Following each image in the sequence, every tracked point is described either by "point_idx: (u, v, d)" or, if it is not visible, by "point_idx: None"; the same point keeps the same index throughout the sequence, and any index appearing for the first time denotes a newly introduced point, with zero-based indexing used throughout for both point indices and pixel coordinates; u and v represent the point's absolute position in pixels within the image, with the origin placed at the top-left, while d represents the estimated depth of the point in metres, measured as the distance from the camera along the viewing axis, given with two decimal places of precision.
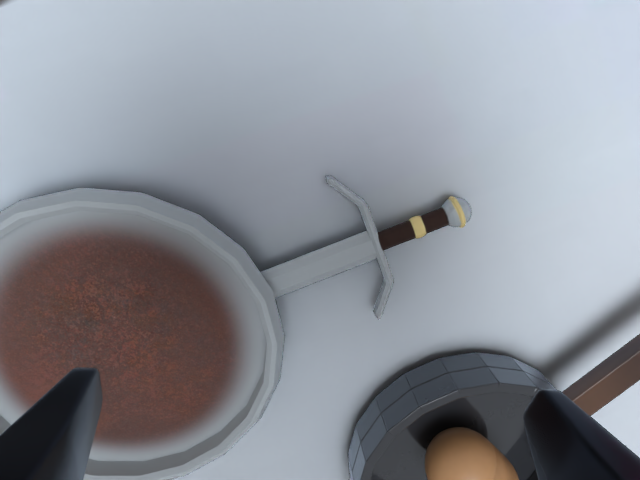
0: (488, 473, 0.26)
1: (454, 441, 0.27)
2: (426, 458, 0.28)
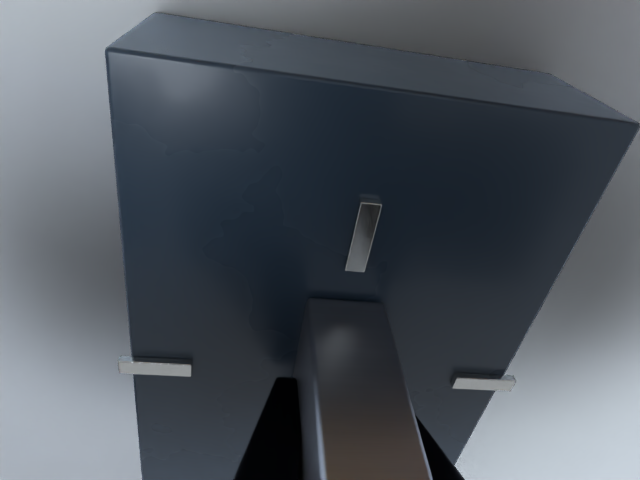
0: None
1: None
2: None
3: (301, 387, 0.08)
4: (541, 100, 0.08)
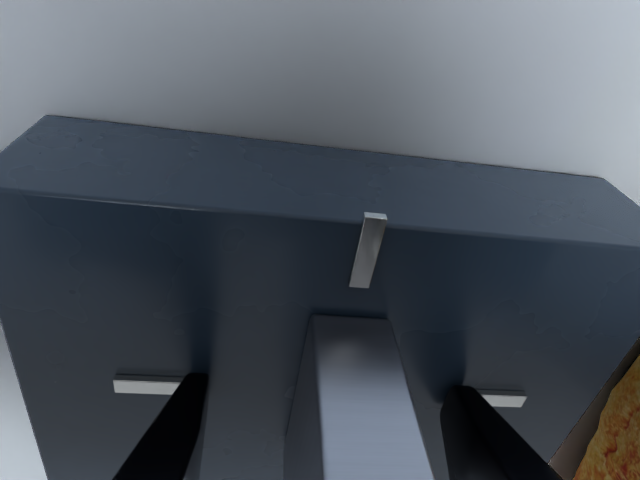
0: None
1: None
2: None
3: (304, 408, 0.08)
4: None
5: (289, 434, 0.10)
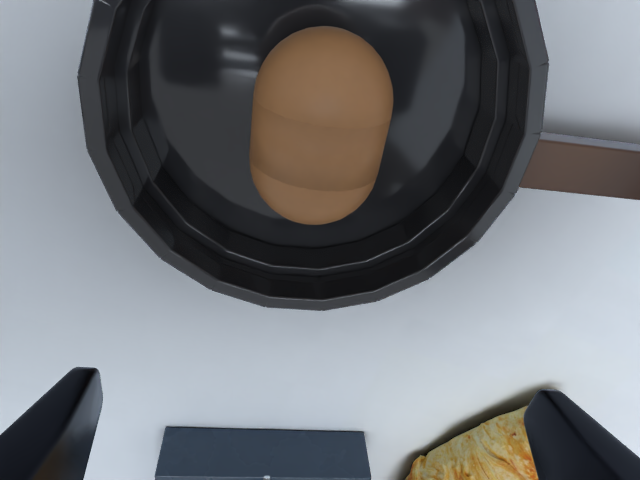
0: (374, 111, 0.13)
1: (361, 38, 0.14)
2: None
3: None
4: None
5: None
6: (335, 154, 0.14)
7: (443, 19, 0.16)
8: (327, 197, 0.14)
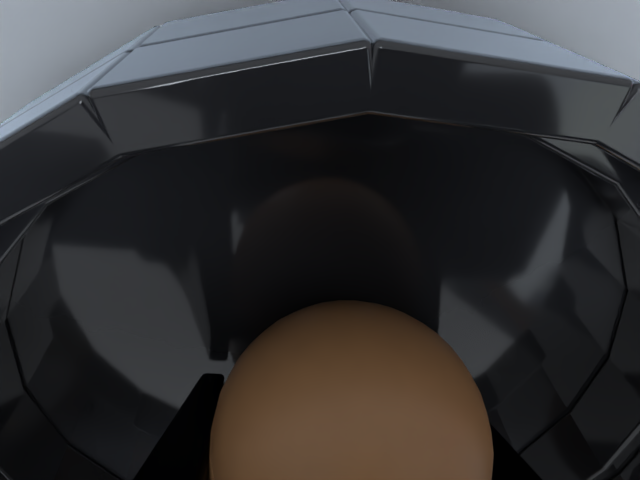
0: None
1: (436, 358, 0.07)
2: (284, 335, 0.07)
3: None
4: None
5: None
6: None
7: (569, 248, 0.09)
8: None
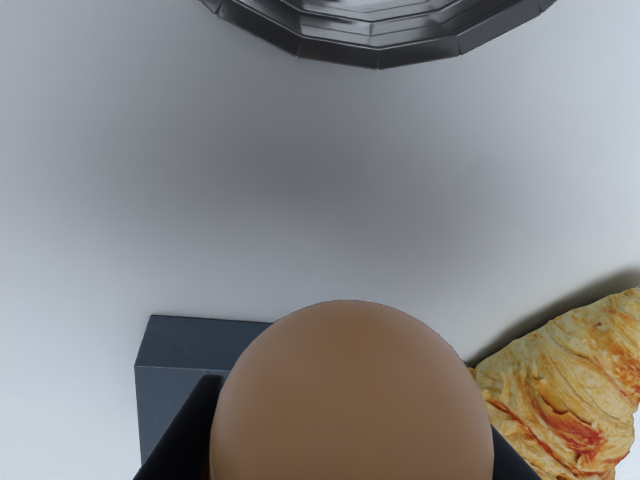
0: None
1: (437, 357, 0.07)
2: (285, 335, 0.07)
3: None
4: None
5: None
6: None
7: None
8: None
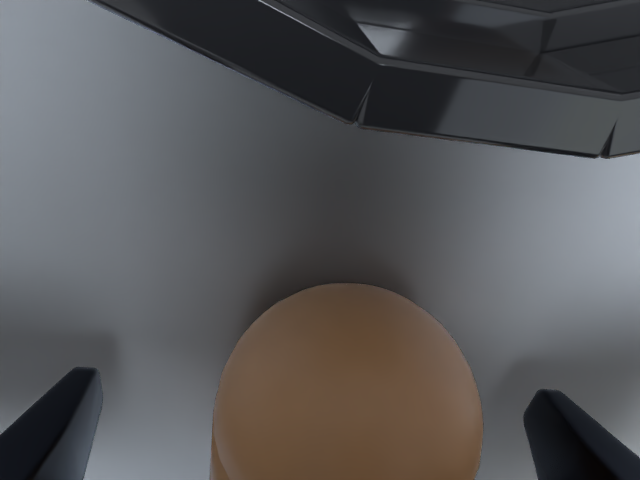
0: None
1: (428, 333, 0.07)
2: (283, 315, 0.07)
3: None
4: None
5: None
6: None
7: None
8: None
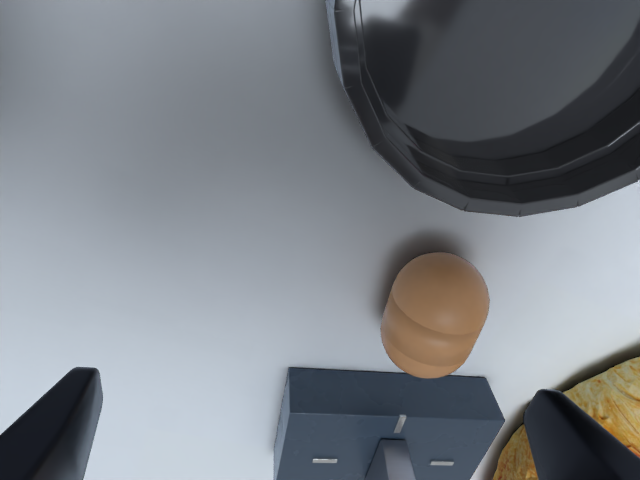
0: (481, 320, 0.20)
1: (471, 267, 0.21)
2: (421, 261, 0.21)
3: (379, 470, 0.26)
4: None
5: (369, 475, 0.27)
6: (454, 347, 0.20)
7: None
8: (444, 369, 0.21)
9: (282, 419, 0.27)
